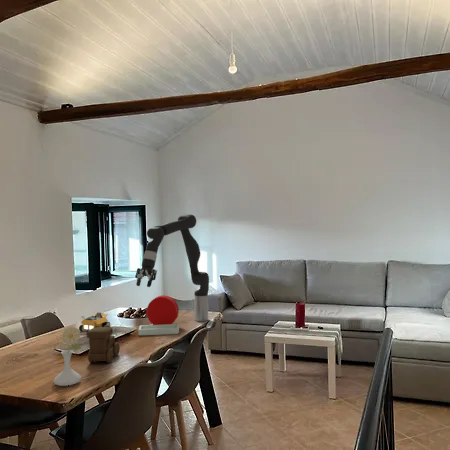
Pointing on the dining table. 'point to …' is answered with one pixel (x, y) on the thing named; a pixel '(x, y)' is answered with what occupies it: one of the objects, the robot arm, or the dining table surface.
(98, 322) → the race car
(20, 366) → the dining table surface
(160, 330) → the tray
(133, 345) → the dining table surface
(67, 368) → the flower in vase
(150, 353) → the dining table surface
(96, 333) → the wooden toy train
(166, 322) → the toy clock
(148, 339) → the dining table surface
